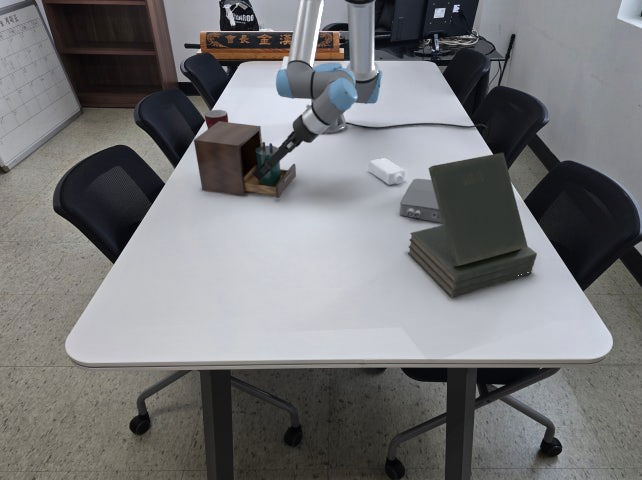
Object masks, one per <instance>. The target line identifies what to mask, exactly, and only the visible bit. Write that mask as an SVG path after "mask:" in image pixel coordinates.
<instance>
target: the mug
mask: <svg viewBox="0 0 642 480" xmlns="http://www.w3.org/2000/svg"><path fill="white" fill-rule="evenodd" d="M228 115H229V114H228V111H226V110H223V109H211V110H208V111H205V113H204V119H205V120H204V121H205V124H206V127H207V130H208V129H209V128H211V127H212V126H213V125H215V124H216V123H217V122H219V121H221V122H229V116H228Z"/></svg>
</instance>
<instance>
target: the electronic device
mask: <svg viewBox="0 0 642 480" xmlns="http://www.w3.org/2000/svg"><path fill="white" fill-rule="evenodd" d="M399 215H400V216H403V217H410V218H415V219H420V220H425V221H430V222H435V223H441V224H443V223H442V219H441V215H440V211H439V208H438V204H437V200H436V196H435V192H434V188H433V184H432V180H431V179H426V178H414V179H413V180H412V181H411V182H410V184H409V186H408V188H407V189H406V191H405V193H404V194H403V197H402V199H401V200H400V207H399Z"/></svg>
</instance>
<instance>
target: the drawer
mask: <svg viewBox="0 0 642 480" xmlns="http://www.w3.org/2000/svg"><path fill="white" fill-rule="evenodd" d="M296 166H297V164H296V163H293V164H292V165H291V166H290V167H289V168H288V169H285V168H283V169H282V168H280V171H281V179H280V180H279V181H278V182H277V184H276V187H270V186H263V185H259V183H258V179H257V178H256V177H255V176H254V175H253V173H254V172H255V171H256V170H257V166H254V167H253V168H252V169H251V170H250V171H249V172H248V173H247V174H246V175H245V176H244V184H245V191H248V192H250V193H257V194H264V195H271V196H275V197H276V198H277V199H279V198H280V197H281V196H282V195H283V193H284V192H285V191H286V190H287V189H288V187H289V186H290V185H291V184H292V182H293V181H294V180H295V178H296V177H297V167H296Z"/></svg>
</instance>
